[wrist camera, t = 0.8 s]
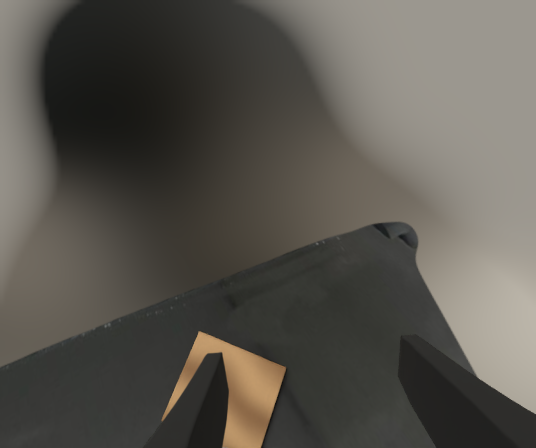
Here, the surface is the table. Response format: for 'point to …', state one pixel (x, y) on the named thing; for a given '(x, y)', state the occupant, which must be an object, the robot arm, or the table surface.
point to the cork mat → (238, 389)
